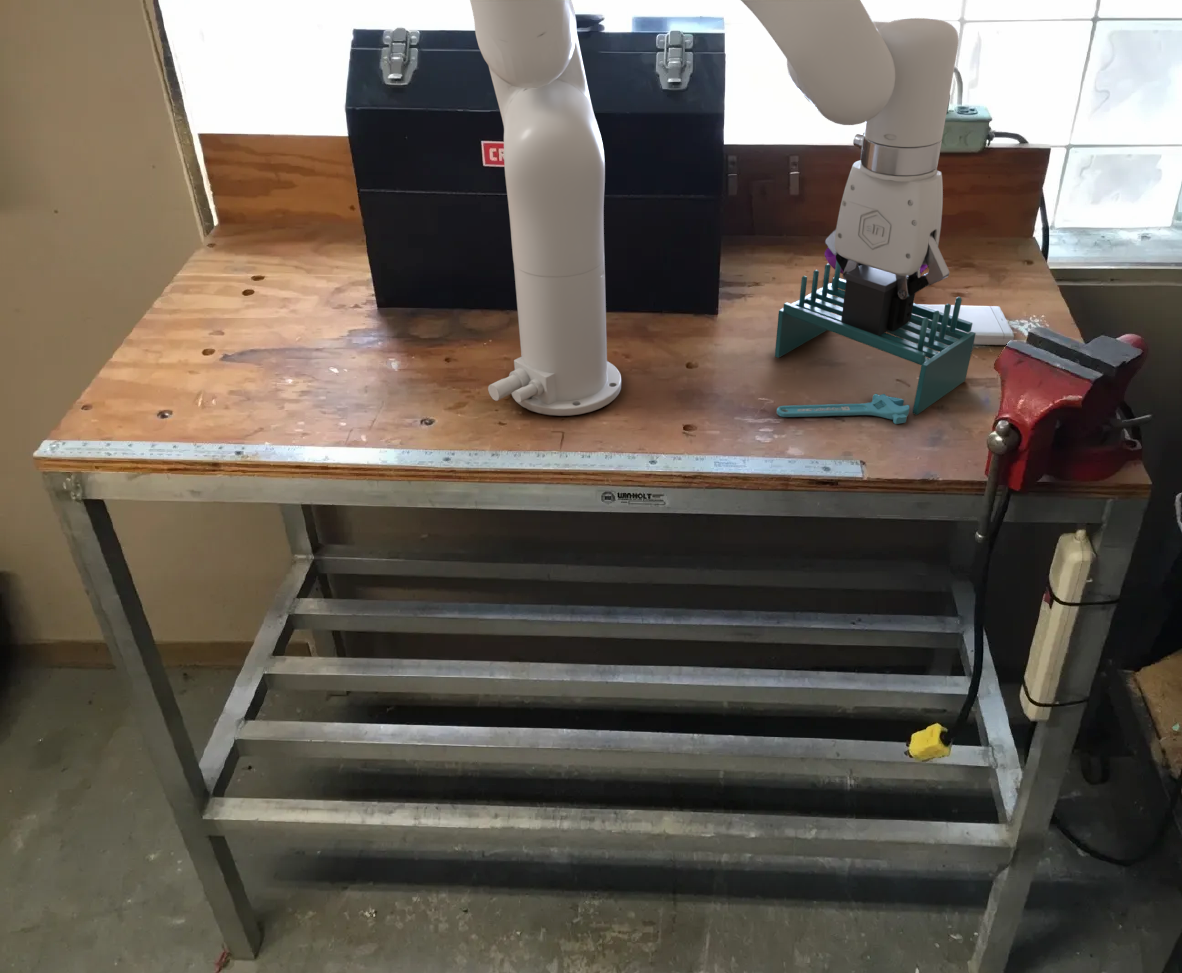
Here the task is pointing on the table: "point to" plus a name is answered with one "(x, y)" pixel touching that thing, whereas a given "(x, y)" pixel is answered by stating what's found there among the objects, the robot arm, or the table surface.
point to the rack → (885, 336)
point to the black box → (868, 299)
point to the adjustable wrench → (853, 409)
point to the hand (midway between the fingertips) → (875, 317)
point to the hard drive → (981, 323)
